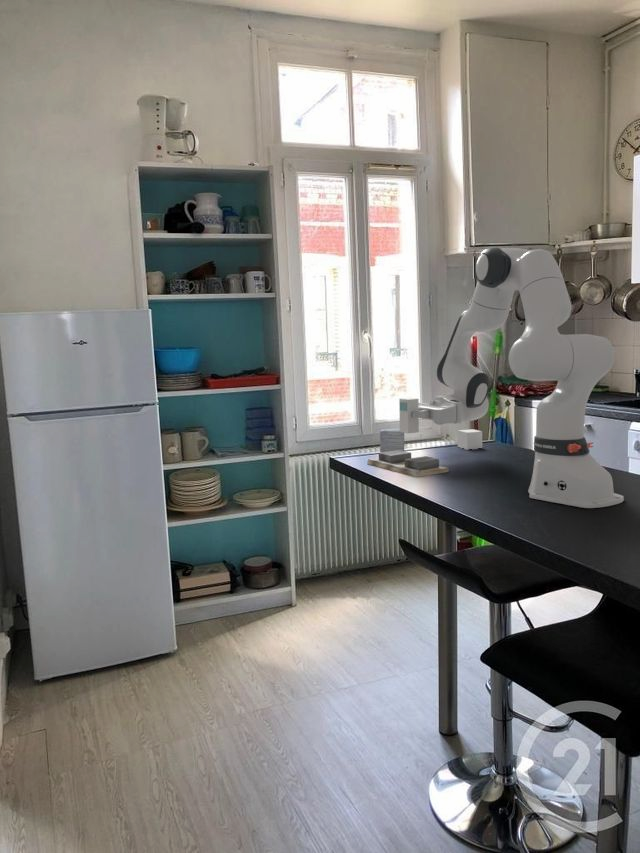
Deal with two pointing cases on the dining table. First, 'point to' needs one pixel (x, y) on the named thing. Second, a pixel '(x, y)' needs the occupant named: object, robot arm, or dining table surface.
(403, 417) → the block
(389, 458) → the mounting board
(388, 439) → the medicine box
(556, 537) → the dining table surface
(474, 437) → the white cube
